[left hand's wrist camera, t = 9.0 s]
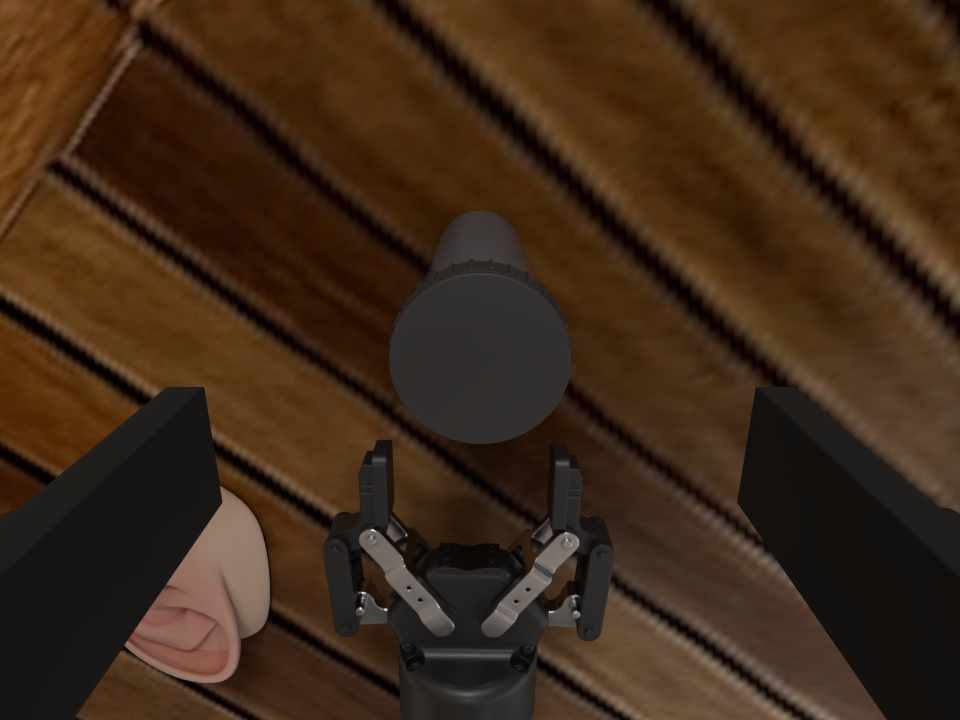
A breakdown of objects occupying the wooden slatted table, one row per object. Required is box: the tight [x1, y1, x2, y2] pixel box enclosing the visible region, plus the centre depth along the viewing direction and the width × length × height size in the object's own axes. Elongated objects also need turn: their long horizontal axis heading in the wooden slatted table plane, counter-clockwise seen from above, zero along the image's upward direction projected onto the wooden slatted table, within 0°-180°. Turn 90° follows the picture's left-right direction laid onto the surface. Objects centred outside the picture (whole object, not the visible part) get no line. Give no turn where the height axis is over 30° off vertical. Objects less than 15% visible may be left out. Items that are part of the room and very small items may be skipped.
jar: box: [424, 211, 536, 281], centre depth 26 cm, size 5×5×16 cm
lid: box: [389, 259, 572, 444], centre depth 19 cm, size 5×5×2 cm
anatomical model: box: [125, 486, 270, 683], centre depth 38 cm, size 13×4×12 cm
